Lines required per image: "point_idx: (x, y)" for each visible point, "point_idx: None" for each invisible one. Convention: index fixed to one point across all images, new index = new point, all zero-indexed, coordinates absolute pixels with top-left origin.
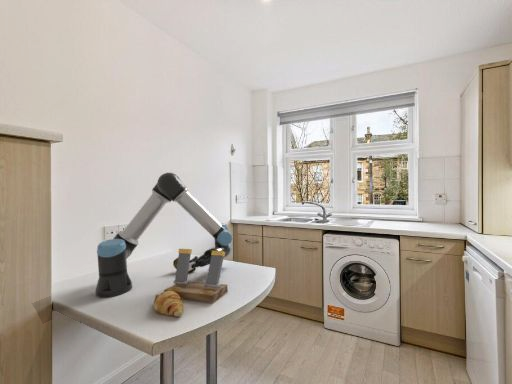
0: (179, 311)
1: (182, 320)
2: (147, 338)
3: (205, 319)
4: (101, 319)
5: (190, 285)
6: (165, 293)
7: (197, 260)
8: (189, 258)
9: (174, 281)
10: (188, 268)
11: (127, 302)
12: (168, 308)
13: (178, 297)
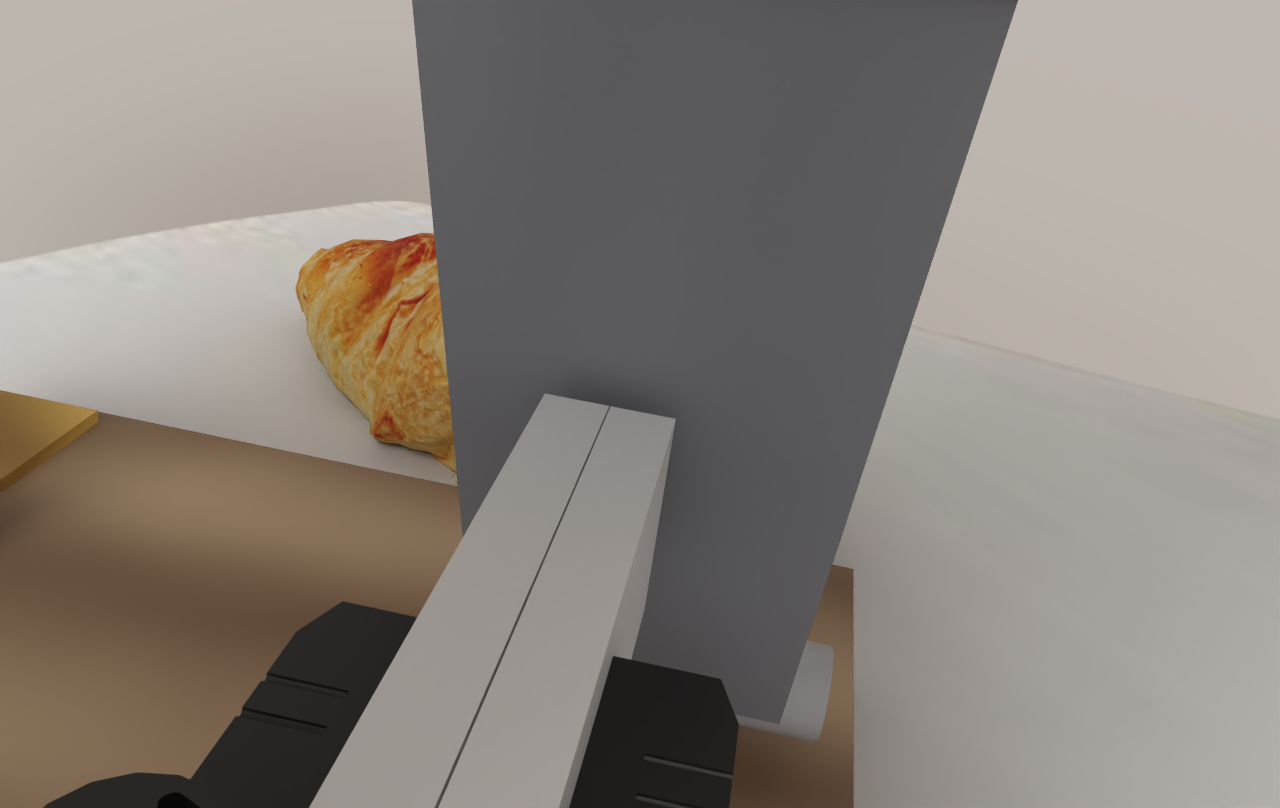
0: (317, 252)
1: (282, 294)
2: None
3: (49, 283)
4: (1058, 363)
5: None
6: None
7: (86, 791)
8: (437, 88)
9: (807, 641)
10: (454, 408)
11: (1240, 574)
12: None
13: (407, 318)
